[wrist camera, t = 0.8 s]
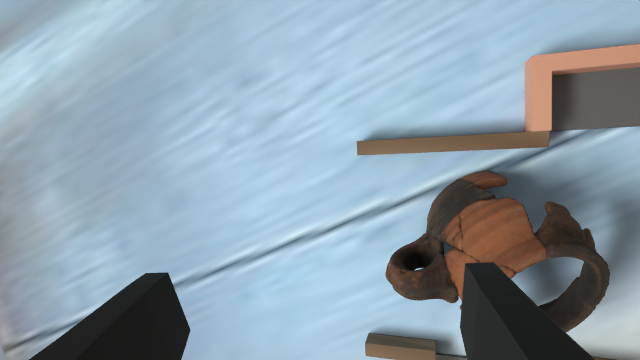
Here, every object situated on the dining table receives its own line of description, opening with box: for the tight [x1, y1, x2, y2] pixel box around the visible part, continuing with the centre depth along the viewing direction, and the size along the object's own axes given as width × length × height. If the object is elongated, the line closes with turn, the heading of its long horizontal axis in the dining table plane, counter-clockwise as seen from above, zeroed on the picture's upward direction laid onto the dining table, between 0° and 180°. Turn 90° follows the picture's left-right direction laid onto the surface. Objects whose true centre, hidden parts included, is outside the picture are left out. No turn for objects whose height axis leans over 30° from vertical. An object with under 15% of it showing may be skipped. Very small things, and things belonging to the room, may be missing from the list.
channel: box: [357, 131, 614, 360], centre depth 22 cm, size 16×32×3 cm, turn 93°
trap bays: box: [436, 44, 640, 360], centre depth 24 cm, size 25×16×2 cm, turn 3°
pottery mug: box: [386, 171, 610, 333], centre depth 24 cm, size 12×9×8 cm
